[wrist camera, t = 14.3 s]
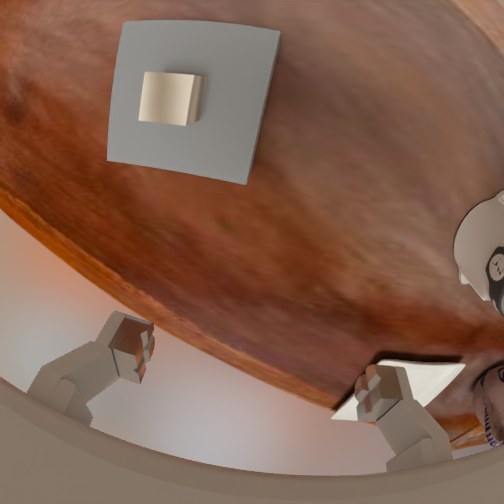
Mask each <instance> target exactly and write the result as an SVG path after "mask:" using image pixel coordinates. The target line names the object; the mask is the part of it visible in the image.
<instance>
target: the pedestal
mask: <svg viewBox="0 0 504 504" xmlns="http://www.w3.org/2000/svg"><path fill="white" fill-rule="evenodd" d="M280 42H281V31H277V30H272V29H266V28H260V27H254V26H247V25H240V24H232V23H222V22H211V21H194V20H142V21H127V22H124V23H123V28H122V32H121V37H120V43H119V48H118V54H117V59H116V66H115V72H114V80H113V87H112V96H111V106H110V117H109V130H108V149H107V161H114V162H121V163H128V164H135V165H141V166H148V167H154V168H160V169H166V170H172V171H177V172H183V173H188V174H194V175H199V176H204V177H209V178H214V179H219V180H224V181H229V182H234V183H238V184H243V185H246V184H247V181H248V179H249V176H250V173H251V170H252V166H253V161H254V156H255V152H256V147H257V143H258V138H259V134H260V129H261V125H262V120H263V116H264V111H265V107H266V102H267V98H268V94H269V89H270V85H271V81H272V76H273V72H274V68H275V63H276V59H277V55H278V51H279V46H280ZM145 72H161V73H176V74H188V75H197V76H205V77H207V83H206V88H205V93H204V99H203V104H202V110H201V116H200V120H199V121H197V122H194V123H192V124H189V125H187V126H181V125H174V124H166V123H158V122H148V121H138V120H139V111H140V102H141V95H142V88H143V81H144V74H145Z"/></svg>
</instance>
